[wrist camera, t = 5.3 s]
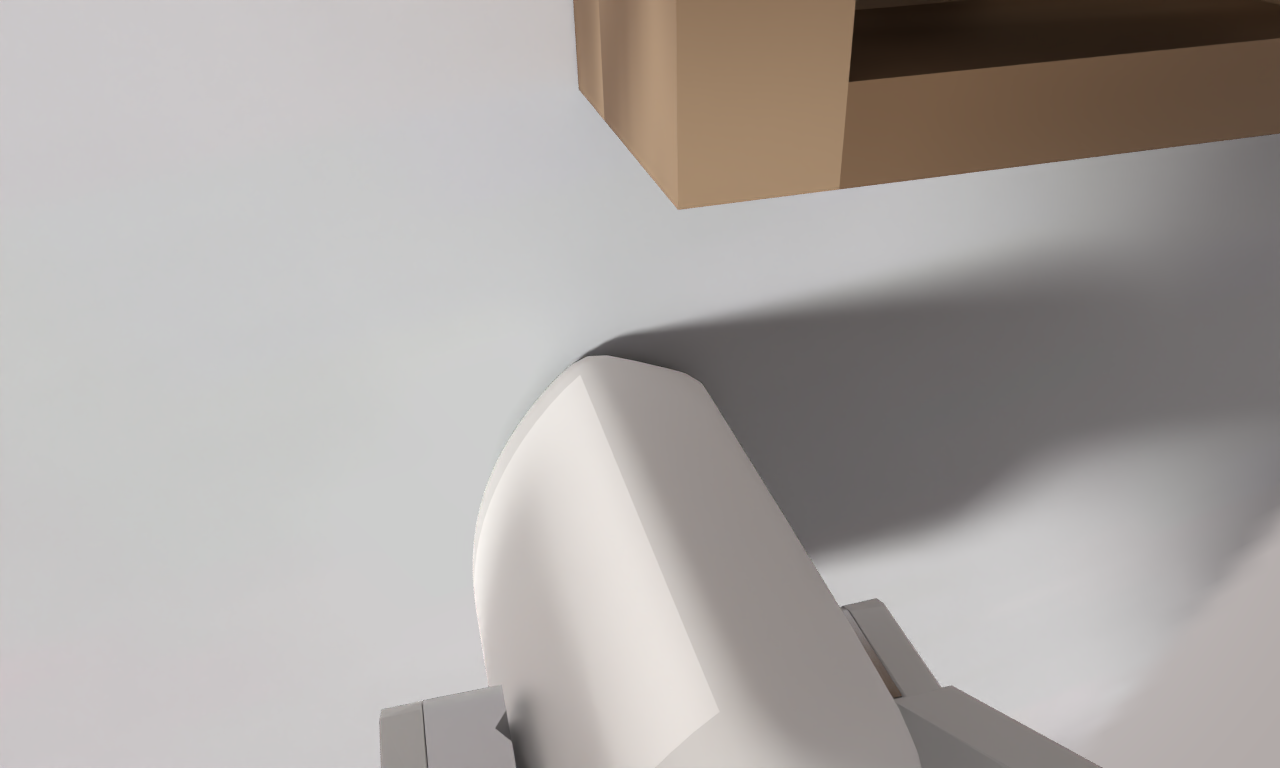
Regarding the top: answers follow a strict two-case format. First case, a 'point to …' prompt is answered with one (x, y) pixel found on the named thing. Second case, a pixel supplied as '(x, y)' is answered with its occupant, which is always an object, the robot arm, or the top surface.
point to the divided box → (915, 86)
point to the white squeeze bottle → (661, 594)
